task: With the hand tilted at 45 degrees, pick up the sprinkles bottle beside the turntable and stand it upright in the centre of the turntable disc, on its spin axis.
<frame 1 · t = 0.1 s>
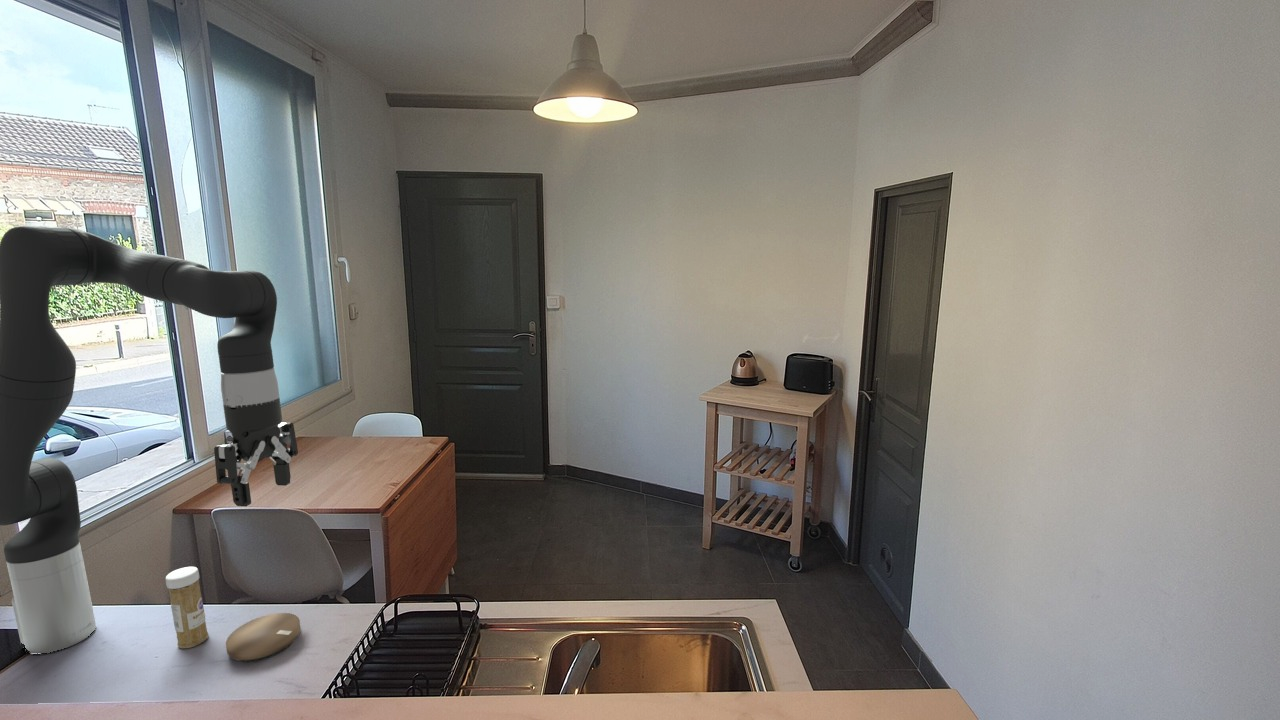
hand: (264, 494, 95), 29 cm above the table, tool pointing down, fingers open, 8 cm apart
turntable: (264, 635, 103), point 2 cm above the table, hinge at 0.0°
turntable base: (265, 644, 103), on the table
sprinkles bottle: (193, 642, 105), on the table
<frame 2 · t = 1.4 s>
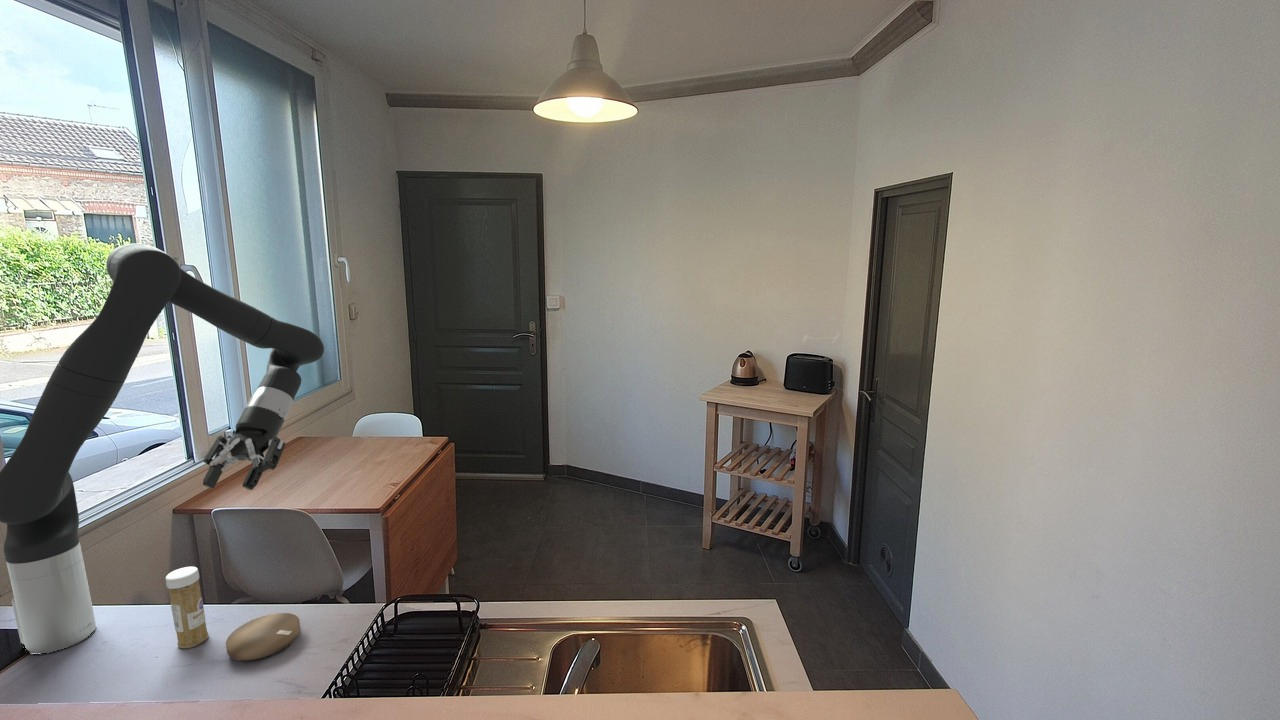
hand: (227, 487, 112), 24 cm above the table, tool tilted 45°, fingers open, 8 cm apart
nothing on the table moved.
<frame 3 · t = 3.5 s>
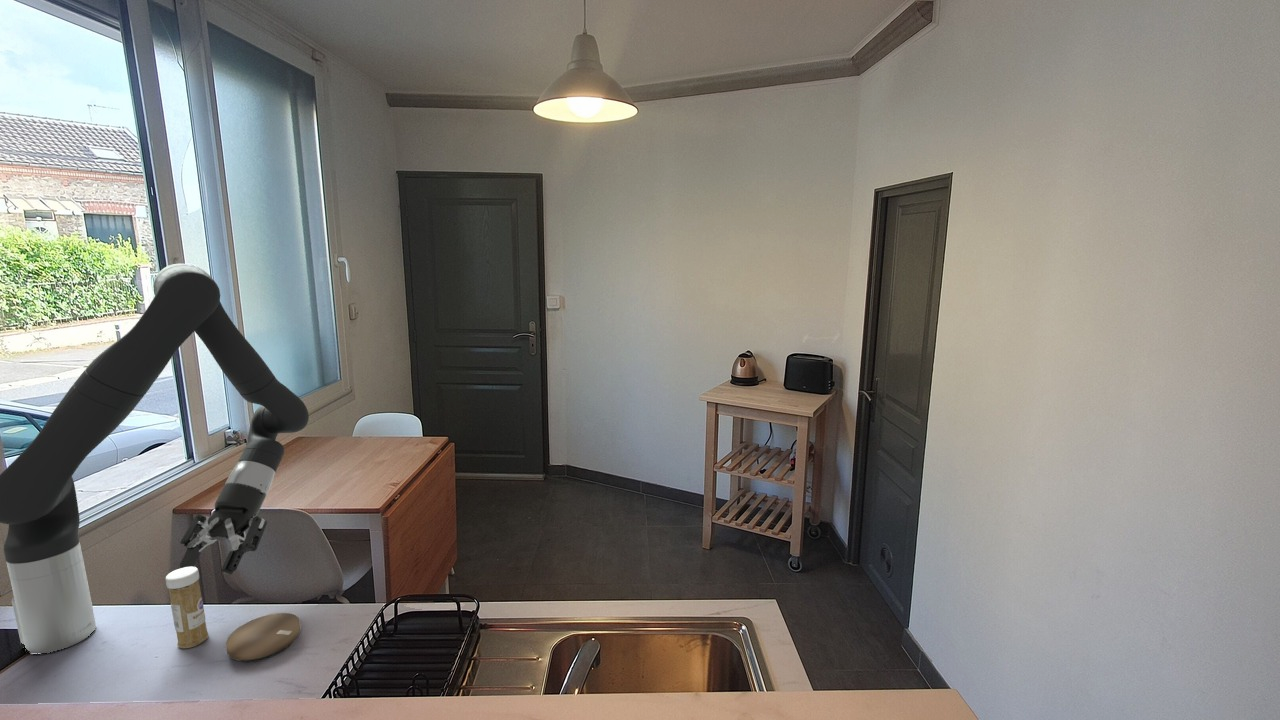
hand: (205, 572, 107), 11 cm above the table, tool tilted 45°, fingers open, 8 cm apart
nothing on the table moved.
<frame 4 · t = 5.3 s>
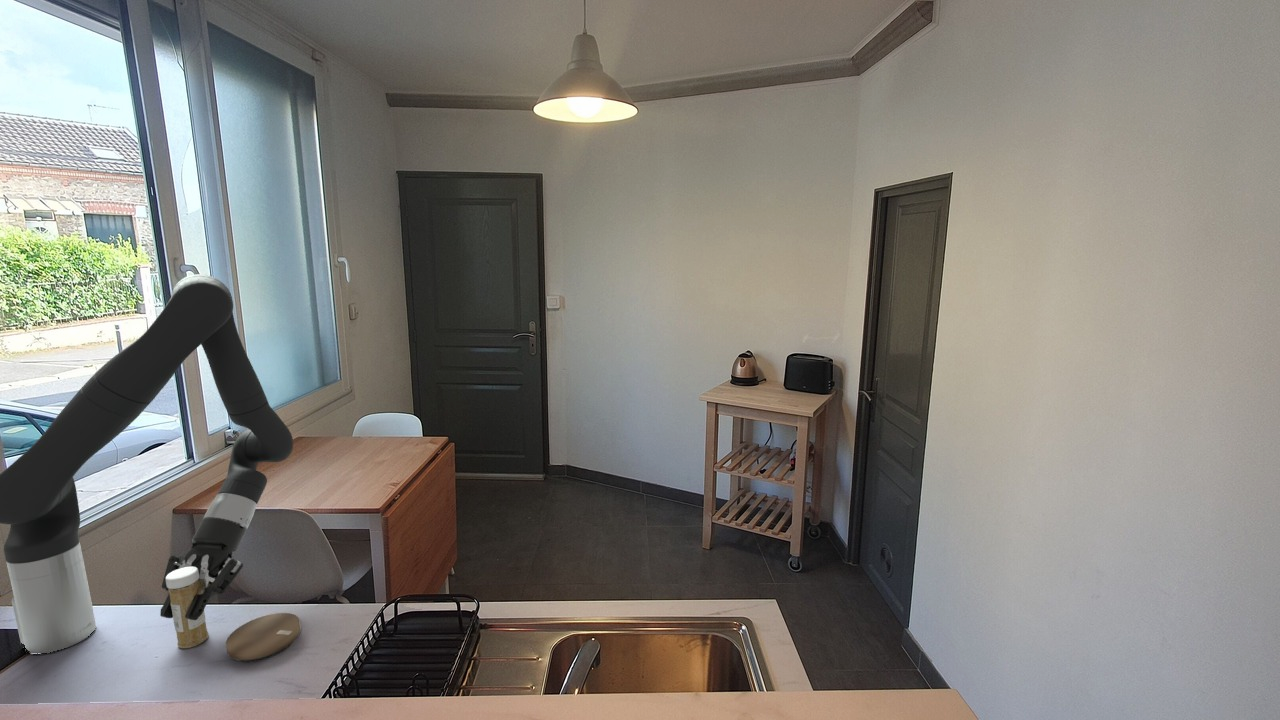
hand: (178, 617, 102), 6 cm above the table, tool tilted 45°, fingers closed on sprinkles bottle, 4 cm apart
sprinkles bottle: (193, 642, 105), on the table, touching gripper
everything else where it was.
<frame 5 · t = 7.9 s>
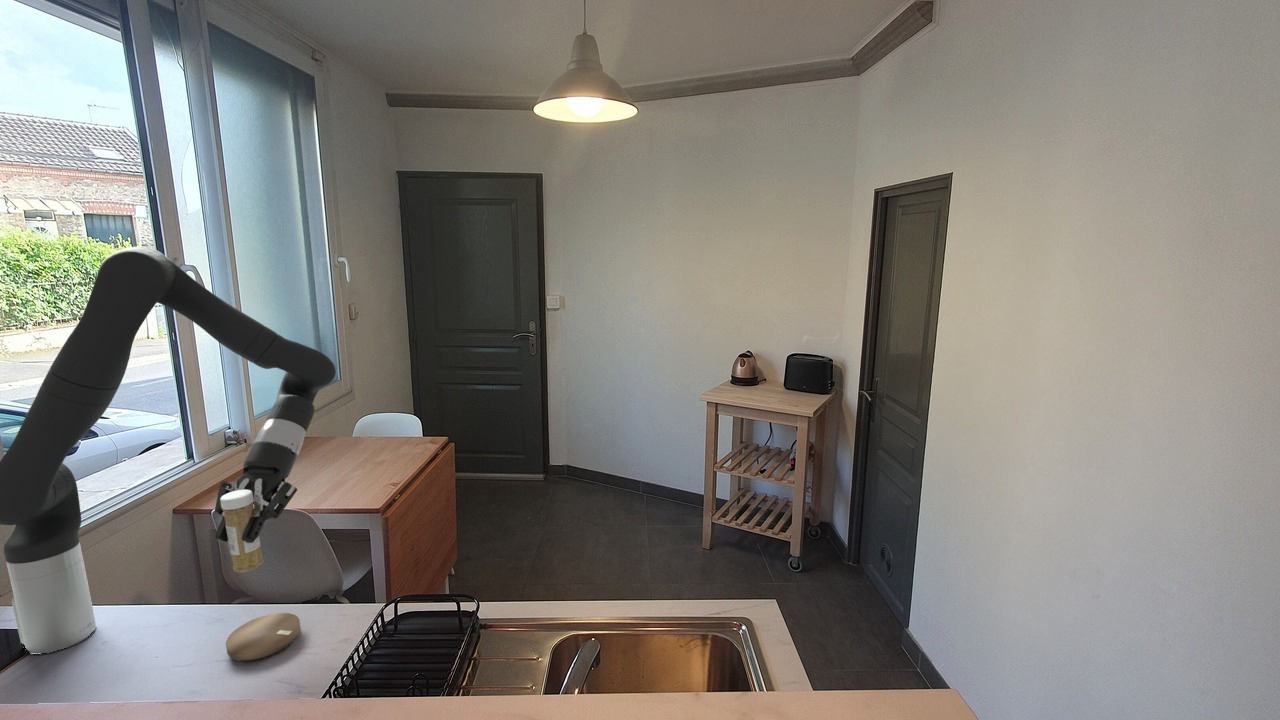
hand: (234, 540, 99), 20 cm above the table, tool tilted 45°, fingers closed on sprinkles bottle, 4 cm apart
sprinkles bottle: (248, 567, 102), point 14 cm above the table, touching gripper
everything else where it was.
when the fingers open (10 cm above the table, at t = 10.4 s): sprinkles bottle drops 1 cm, resting on turntable.
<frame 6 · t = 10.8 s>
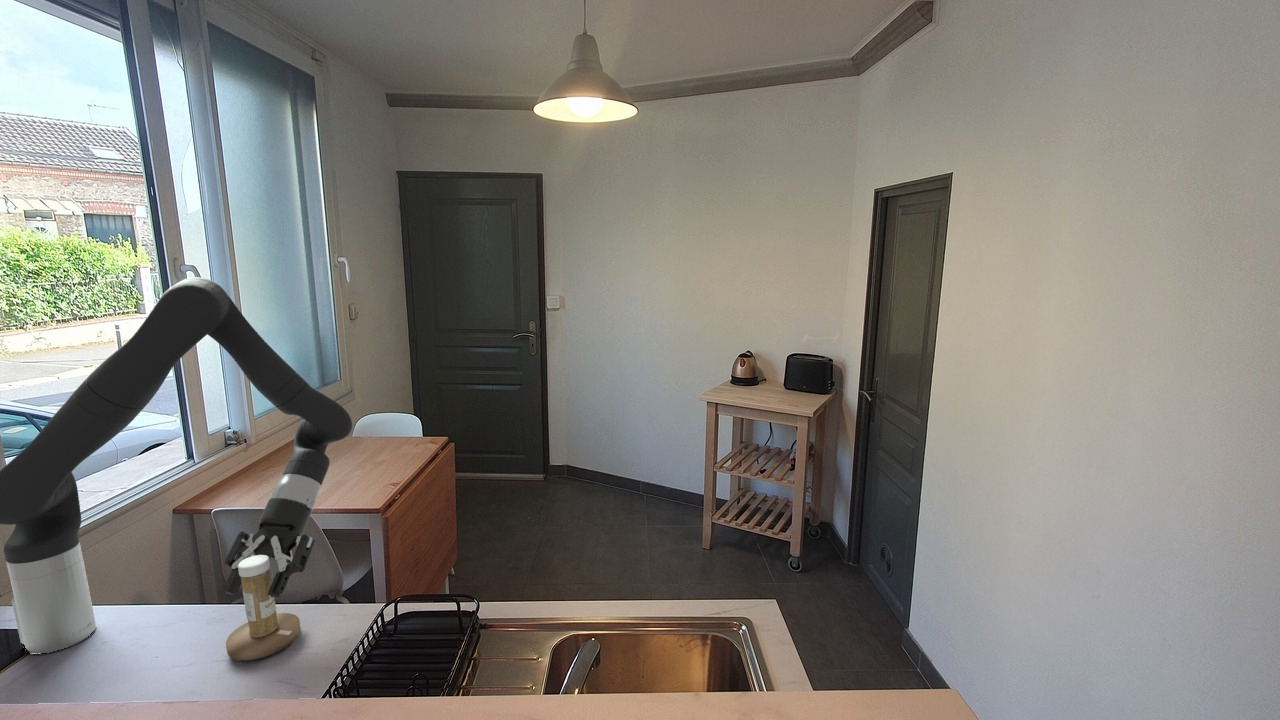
hand: (251, 594, 100), 10 cm above the table, tool tilted 45°, fingers open, 8 cm apart
turntable: (264, 635, 103), point 2 cm above the table, hinge at 0.0°, touching sprinkles bottle
sprinkles bottle: (264, 631, 103), point 2 cm above the table, touching turntable
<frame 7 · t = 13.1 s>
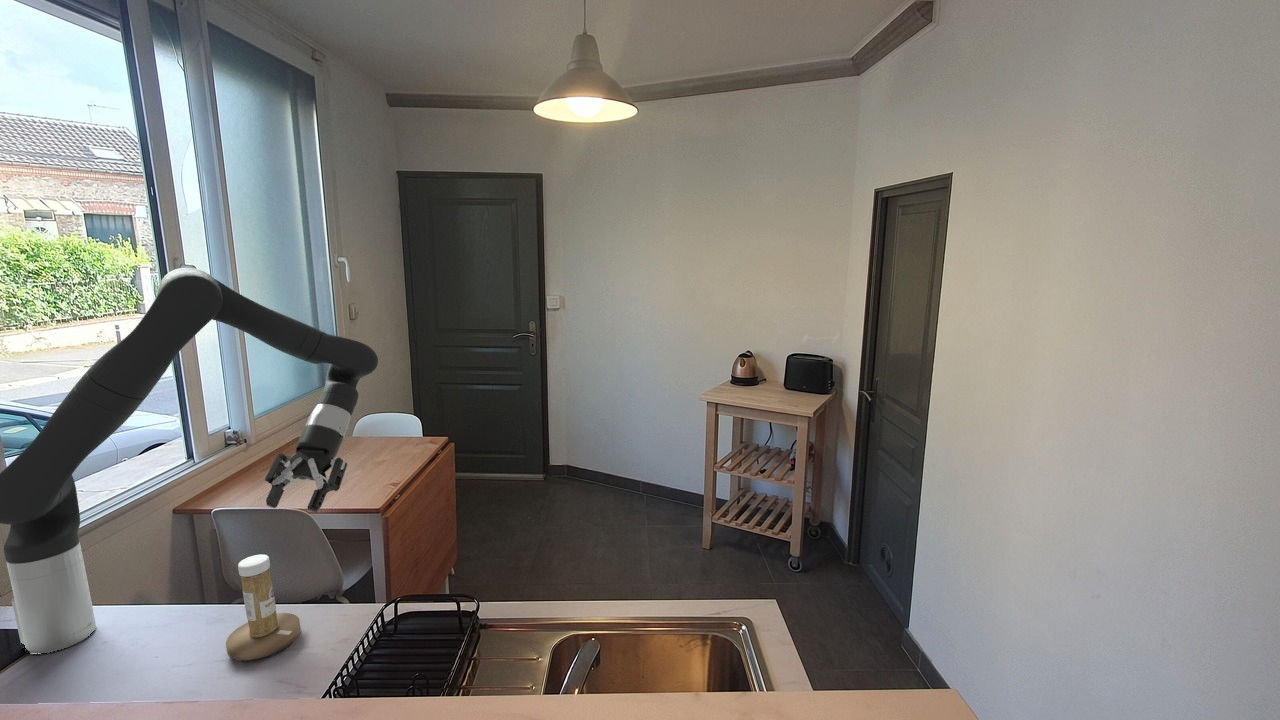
hand: (291, 508, 111), 21 cm above the table, tool tilted 40°, fingers open, 8 cm apart
nothing on the table moved.
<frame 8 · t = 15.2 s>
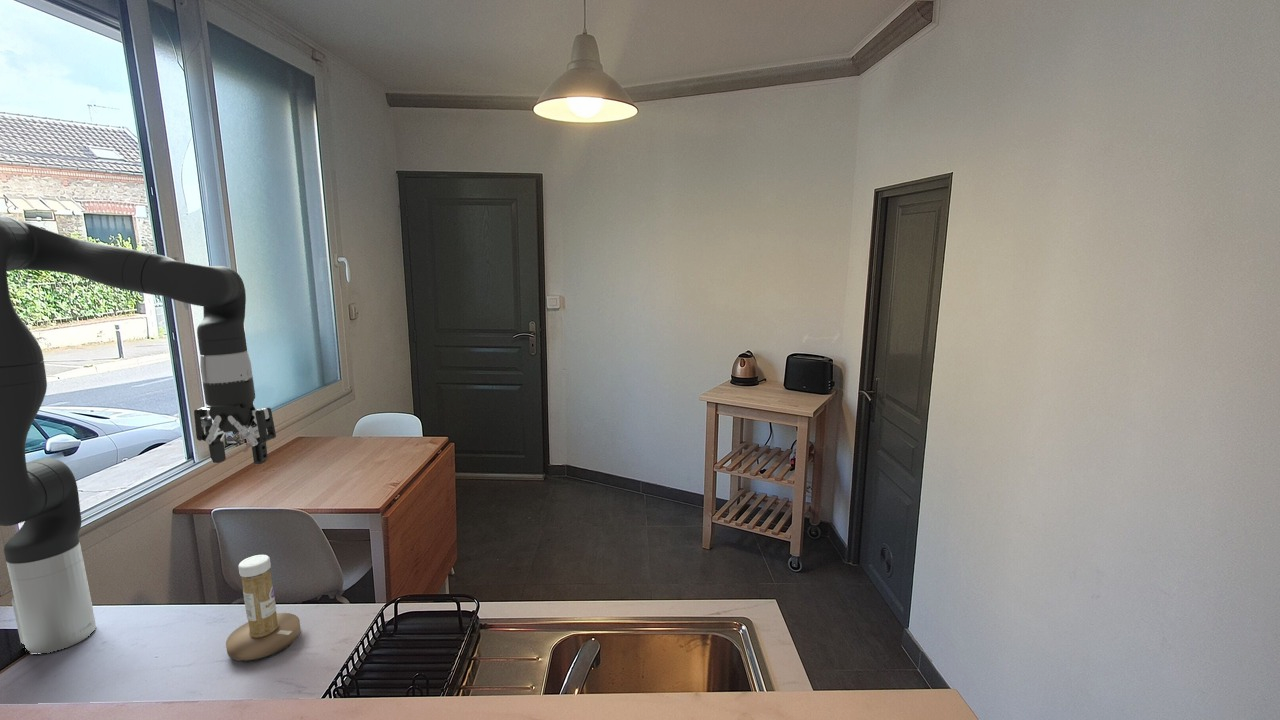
hand: (240, 462, 109), 30 cm above the table, tool pointing down, fingers open, 8 cm apart
nothing on the table moved.
at the end: sprinkles bottle 0.2 cm off-centre on the turntable, point 2.4 cm above the turntable's base; sprinkles bottle tilted 0°; the gripper is holding nothing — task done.
